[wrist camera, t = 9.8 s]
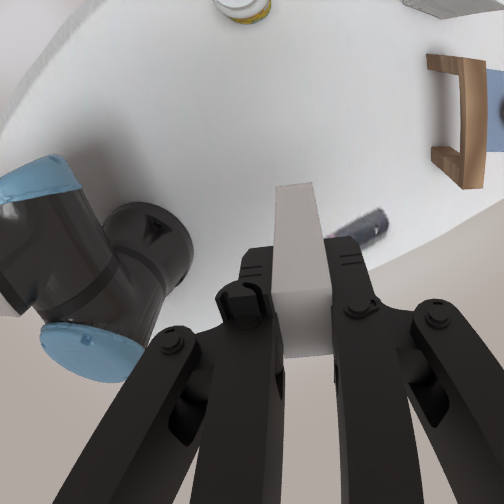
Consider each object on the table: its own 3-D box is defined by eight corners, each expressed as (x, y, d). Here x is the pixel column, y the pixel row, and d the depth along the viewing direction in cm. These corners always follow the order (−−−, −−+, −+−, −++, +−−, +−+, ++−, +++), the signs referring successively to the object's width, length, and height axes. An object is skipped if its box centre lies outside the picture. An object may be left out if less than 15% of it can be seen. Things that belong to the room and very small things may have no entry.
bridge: (431, 161, 37) (462, 189, 29) (426, 54, 29) (463, 57, 21) (449, 160, 36) (482, 188, 29) (446, 55, 28) (485, 61, 21)
